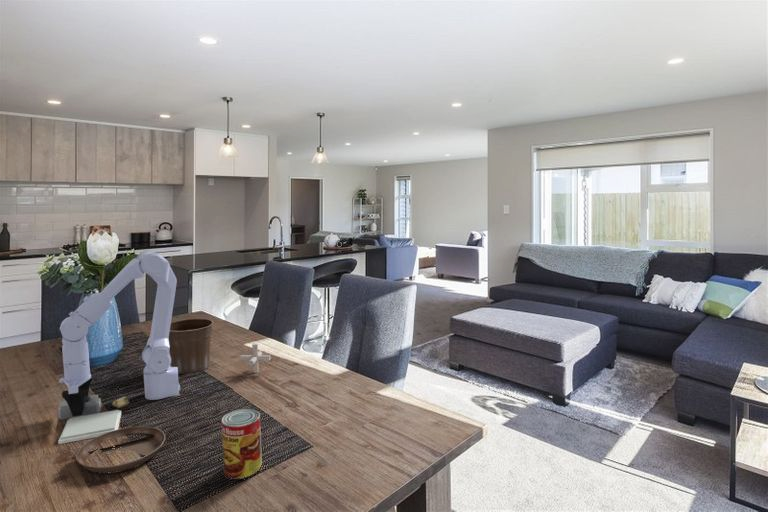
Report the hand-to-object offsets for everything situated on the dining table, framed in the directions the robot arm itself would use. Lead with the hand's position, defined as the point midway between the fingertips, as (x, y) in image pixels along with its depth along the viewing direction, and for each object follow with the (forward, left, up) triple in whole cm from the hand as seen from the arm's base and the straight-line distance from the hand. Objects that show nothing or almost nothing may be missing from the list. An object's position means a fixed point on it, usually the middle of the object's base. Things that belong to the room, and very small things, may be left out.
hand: (80, 409), depth 122 cm
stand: (-4, +11, -2) cm, 12 cm away
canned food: (-36, +45, -3) cm, 58 cm away
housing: (0, 0, -2) cm, 2 cm away
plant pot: (-29, -27, -3) cm, 40 cm away
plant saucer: (-12, +27, -3) cm, 30 cm away
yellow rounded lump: (-11, -2, -1) cm, 11 cm away
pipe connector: (-49, -13, -3) cm, 51 cm away
